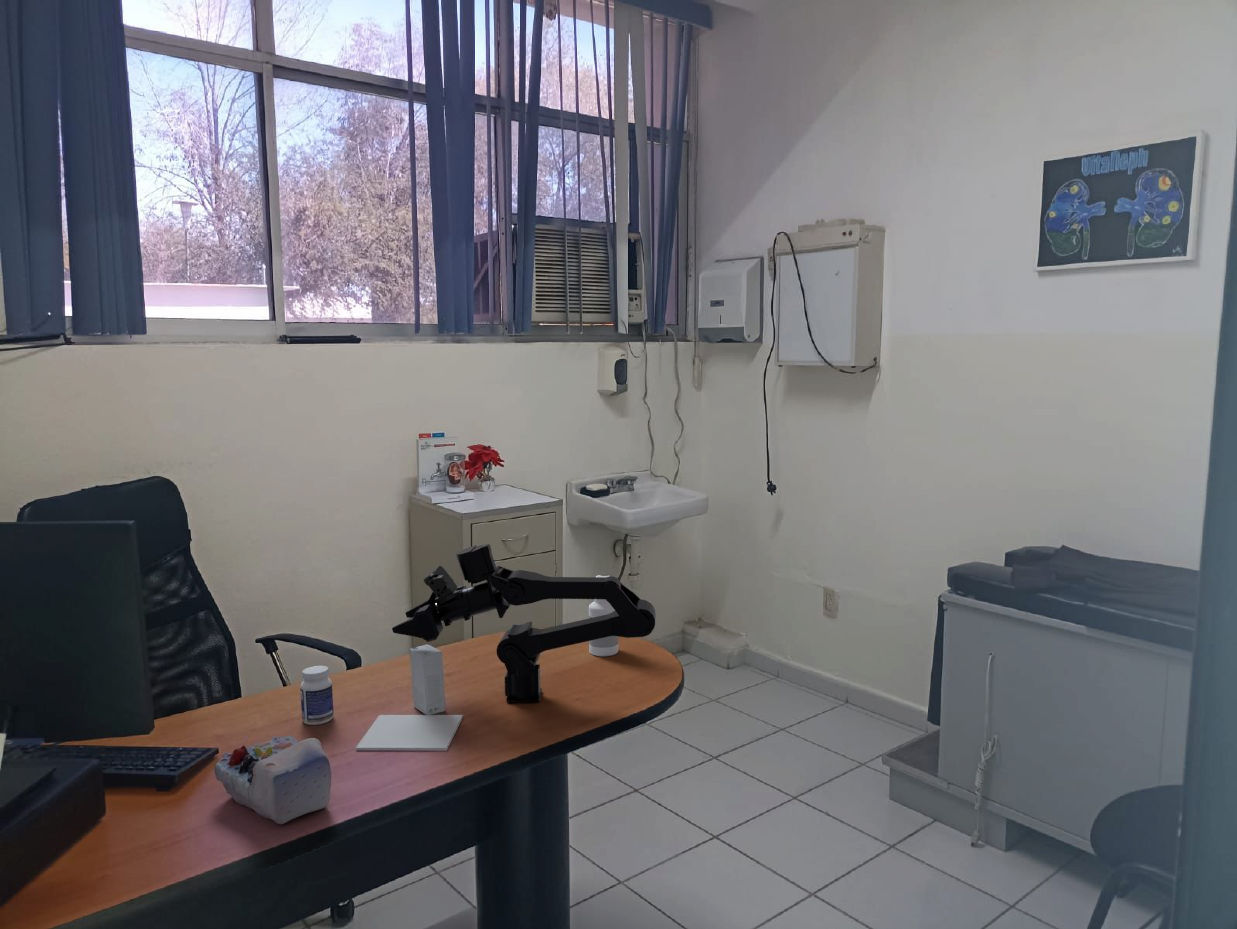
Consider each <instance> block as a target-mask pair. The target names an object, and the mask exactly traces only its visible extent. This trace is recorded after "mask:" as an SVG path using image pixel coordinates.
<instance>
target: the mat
mask: <svg viewBox="0 0 1237 929" xmlns="http://www.w3.org/2000/svg"><path fill="white" fill-rule="evenodd" d="M463 717H464V715H463V714H433V715H426V714H379V715H378V716H377V718H375V720H374V722H373V723H372V724H371V726H370V727H369V729H368V730H367V731H366V733H365V734H364V736H362V739H361V740H360V741H359V742H358V744H357V745H356V747H355V751H390V752H391V751H399V752H400V751H404V752H405V751H407V752H408V751H410V752H411V751H416V752H417V751H421V752H422V751H423V752H424V751H426V752H427V751H429V752H430V751H432V752H433V751H435V752H436V751H437V752H438V751H439V752H440V751H441V752H442V751H445V752H446V751H448V748H449V747H450V744H451V742H452V741H453V738H454V736H455V734H456V732H457V731H458V728H459V725H460V724H461V722H462V720H463Z"/></svg>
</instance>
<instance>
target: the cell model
mask: <svg viewBox="0 0 1237 929" xmlns="http://www.w3.org/2000/svg"><path fill="white" fill-rule="evenodd" d="M221 756H222V757H223V758H221V759H220V760H218V761H217V763H216V764H215V763H214V767H213V772H214V775H215V778H216V780H217V781H219V782H221V783H222V785H223V788H224V789H225V791H226V793H227V794H229V795H230V796H231V797H232V799H233V800H234V801H235V802H236V803H237V804H238V805H240V806H242V807H246V808H248V809H252V810H254V811H255V813H257V814H258V815H259V816H260V817H263V818H265V819H266V820H267V819H270V820H272V821H273V822H274V823H276V824H278V825H284V824H286V823H287V822H289V821H291V820H294V819H296V818H298V817H301V816H303V815H306V814H309V813H312V812H317V811H319V810H322V809H324V808H327V807H328V805H329V804H330V800H331V798H330V797H331V787H332V769H331V763H330V760H329V757H328V755H327V754H326V753H325V751H324V749H323V748H322V743H321V741H320V739H318V738H316V737H310V738H305V739H303V740H300V741H299V740H297V739H296V737H295V736H293V735H285V736H282V737H278V736H277V735H275V736H272V738H271V739H270V740H267V741H263V742H258V743H256V744H254V745H252V746H250V747H246V745H242V746H241V745H240V746H239V747H238V748H235V749H234V750H233V751H232V753H231V752H230V753H229V752H223V753H222V755H221Z"/></svg>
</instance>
